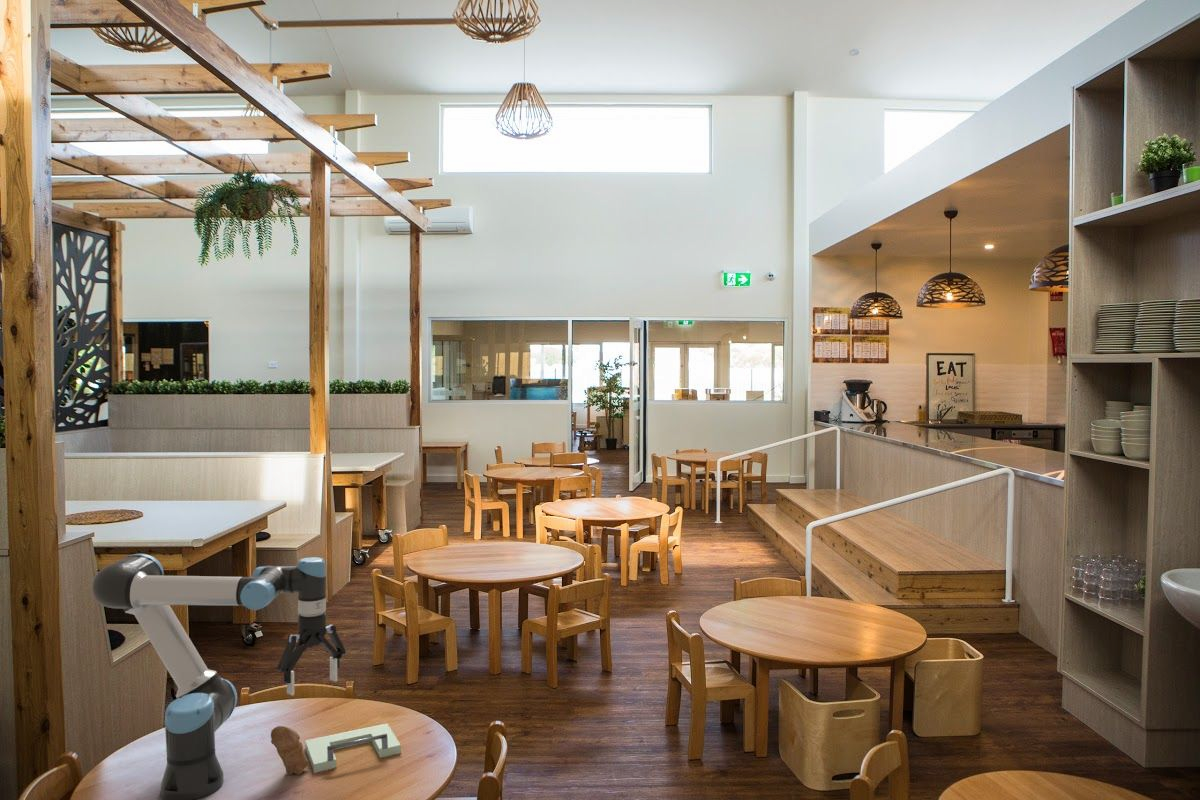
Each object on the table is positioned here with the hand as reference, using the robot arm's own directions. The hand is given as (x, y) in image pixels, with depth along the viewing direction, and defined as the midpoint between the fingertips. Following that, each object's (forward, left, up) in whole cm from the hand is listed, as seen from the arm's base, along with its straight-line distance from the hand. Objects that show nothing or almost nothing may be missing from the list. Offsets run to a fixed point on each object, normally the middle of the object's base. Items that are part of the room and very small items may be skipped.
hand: (312, 687), depth 239 cm
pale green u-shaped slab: (+10, 0, -21) cm, 23 cm away
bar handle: (+10, -8, -18) cm, 23 cm away
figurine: (-8, -6, -21) cm, 23 cm away
